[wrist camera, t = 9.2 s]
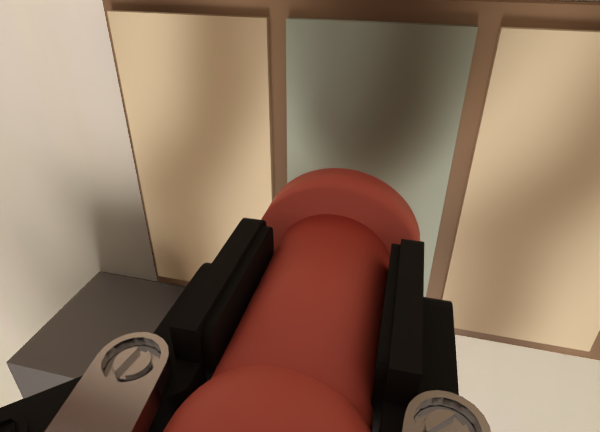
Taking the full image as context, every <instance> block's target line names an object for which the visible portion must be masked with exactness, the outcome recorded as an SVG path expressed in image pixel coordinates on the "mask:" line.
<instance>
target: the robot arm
mask: <svg viewBox="0 0 600 432" xmlns="http://www.w3.org/2000/svg"><path fill="white" fill-rule="evenodd" d="M273 254H274V240H273V228H272V227H269V226H267V224H266V221H265V220H259V219H251V218H243V219H242V220H241V221H240V222H239V224H238V225H237V227H236V228H235V230H234V231H233V233H232V234H231V236H230V237H229V239H228V240H227V241H226V243H225V244H224V246H223V247H222V249H221V250H220V252H219V253H218V255H217V256H216V258H215V259H214V261H213V262H212V263H207V262H206V263H204V264H202V266H201V267H200V268H199V269H198V271H197V272H196V273H195V275H194V276H193V278H192V279H191V280H190V282H189V283H188V285H187V286H186V288H185V289H184V290H183V292H182V293H181V295H180V296H179V297H178V299H177V300H176V302H175V303H174V304H173V306H172V307H171V309H170V310H169V311H168V313H167V314H166V316H165V317H164V319H163V320H162V321H161V323H160V324H159V326H158V327H157V328H156V330H155V331H154V333H149V332H135V333H130V334H126V335H123V336H121V337H119V338H116V339H114V340H113V341H111V342H110V343H108V344H107V345H106V346H104V348H103V349H102V350H101V351H100V352H99V353H98V354H97V356H96V357H95V359H94V360H93V362H92V363H91V364H90V366H89V367H88V369H87V370H86V372H85V373H84V375H83V376H80V377H78V378H75V379H72V380H70V381H67V382H65V383H62V384H60V385H57V386H55V387H52V388H50V389H47V390H45V391H42V392H39V393H37V394H34V395H32V396H29V397H27V398H24V399H22V400H19V401H17V402H14V403H11V404H9V405H6V406H4V407H1V408H0V432H163V430H164V429H165V427H166V425H167V424H168V422H169V421H170V419H171V418H172V416H173V414H174V413H175V412H176V410H177V409H178V408H179V407H180V406H181V404H182V403H183V402H184V401H185V400H186V399H187V398H188V397H189V396H190V395H191V394H192V393H193V392H194V391H195V390H196V389H198V388H199V387H200V386H201V385H203V384H204V383H206V382H207V381H209V380H210V379H211V378H212V376H213V374H214V372H215V370H216V368H217V366H218V364H219V362H220V360H221V358H222V356H223V354H224V352H225V350H226V348H227V346H228V344H229V342H230V340H231V338H232V336H233V334H234V332H235V330H236V328H237V326H238V324H239V322H240V320H241V318H242V316H243V314H244V312H245V310H246V308H247V306H248V304H249V302H250V300H251V298H252V296H253V294H254V292H255V290H256V288H257V286H258V284H259V282H260V280H261V278H262V276H263V274H264V272H265V270H266V268H267V266H268V264H269V262H270V260H271V258H272V256H273ZM371 405H372V408H373V414H374V418H373V429H372V432H491V430H490V426H489V424H488V422H487V420H486V419H485V417H484V415H483V414H482V413H481V412H480V411H479V409H478V408H477V407H476V406H475V405H474V404H472V403H471V402H469V401H468V400H466V399H465V398H463V397H462V396H459V393H458V377H457V362H456V346H455V331H454V315H453V304H452V301H447V300H441V299H434V298H428V297H424V242H422V241H415V240H407V239H401V243H400V244H393V243H392V244H391V252H390V259H389V267H388V274H387V282H386V290H385V298H384V306H383V314H382V321H381V329H380V337H379V345H378V353H377V361H376V368H375V376H374V384H373V392H372V400H371Z"/></svg>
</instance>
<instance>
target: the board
mask: <svg viewBox="0 0 600 432" xmlns="http://www.w3.org/2000/svg"><path fill="white" fill-rule="evenodd" d="M102 1H103V6H104V11H105V16H106V21H107V26H108V31H109V36H110V41H111V46H112V51H113V56H114V62H115V67H116V72H117V77H118V82H119V87H120V92H121V97H122V102H123V107H124V112H125V117H126V122H127V128H128V133H129V138H130V143H131V148H132V153H133V158H134V163H135V168H136V173H137V178H138V183H139V189H140V194H141V199H142V204H143V209H144V214H145V219H146V224H147V229H148V234H149V239H150V244H151V249H152V255H153V260H154V265H155V270H156V275H157V280H158V281H159V282H165V283H170V284H176V285H182V286H187V285H188V283H189V282H190V280H191V279H192V278H193V276H194V275H195V273H196V272H197V271H198V269H199V268H200V267H201V266H202V264H204V263H206V262H207V263H212V262H213V261H214V259H215V258H216V256H217V255H218V253H219V252H220V250H221V249H222V247H223V246H224V244H225V243H226V241H227V240H228V239H229V237H230V236H231V234H232V233H233V231H234V230H235V228H236V227H237V225H238V224H239V222H240V221H241V220H242V219H243V218H251V219H259V220H261V219H262V217H263V216H264V214H265V212H266V211H267V209H268V207H269V206H270V204H271V203H272V201H273V199H274V198H275V196H276V195H277V194H278V192H279V191H280V190H281V189H282V188H283V187H284V186H285V185H286V184H287V183H289V182H290V181H292V180H293V179H294V178H296V177H298V176H300V175H302V174H305V173H308V172H311V171H314V170H319V169H325V168H346V169H352V170H357V171H360V172H364V173H367V174H369V175H371V176H374V177H376V178H378V179H380V180H382V181H383V182H385V183H387V184H388V185H389V186H391V187H392V188H393V189H395V190H396V191H397V192H398V193H399V194H400V195H401V196H402V197H403V198H404V200H405V201H406V202H407V203H408V205H409V206H410V208H411V210H412V211H413V213H414V215H415V218H416V220H417V223H418V226H419V231H420V241H422V242H424V297H428V298H434V299H441V300H447V301H452V304H453V315H454V331H455V334H456V335H461V336H467V337H473V338H478V339H484V340H489V341H495V342H501V343H506V344H512V345H517V346H523V347H529V348H534V349H540V350H545V351H551V352H557V353H562V354H568V355H573V356H579V357H585V358H590V359H596V360H600V2H594V1H560V0H102Z"/></svg>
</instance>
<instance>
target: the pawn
mask: <svg viewBox="0 0 600 432" xmlns="http://www.w3.org/2000/svg"><path fill="white" fill-rule="evenodd" d="M261 220H265V221H266V224H267V226H269V227H272V228H273V240H274V254H273V256H272V258H271V260H270V262H269V264H268V266H267V268H266V270H265V272H264V274H263V276H262V278H261V280H260V282H259V284H258V286H257V288H256V290H255V292H254V294H253V296H252V298H251V300H250V302H249V304H248V306H247V308H246V310H245V312H244V314H243V316H242V318H241V320H240V322H239V324H238V326H237V328H236V330H235V332H234V334H233V336H232V338H231V340H230V342H229V344H228V346H227V348H226V350H225V352H224V354H223V356H222V358H221V360H220V362H219V364H218V366H217V368H216V370H215V372H214V374H213V376H212V378H211V379H210V380H209V381H207V382H206V383H204V384H203V385H201V386H200V387H199V388H198V389H196V390H195V391H194V392H193V393H192V394H191V395H190V396H189V397H188V398H187V399H186V400H185V401H184V402H183V403H182V404H181V406H180V407H179V408H178V409H177V410H176V412H175V413H174V414H173V416H172V418H171V419H170V421H169V422H168V424H167V425H166V427H165V429H164V430H163V432H372V429H373V418H374V414H373V408H372V405H371V400H372V392H373V384H374V376H375V368H376V361H377V353H378V345H379V337H380V329H381V321H382V314H383V306H384V298H385V290H386V282H387V274H388V267H389V259H390V252H391V244H392V243H393V244H400V243H401V239H407V240H415V241H420V231H419V226H418V223H417V220H416V218H415V215H414V213H413V211H412V210H411V208H410V206H409V205H408V203H407V202H406V201H405V200H404V198H403V197H402V196H401V195H400V194H399V193H398V192H397V191H396V190H395V189H393V188H392V187H391V186H389V185H388V184H387V183H385V182H383V181H382V180H380V179H378V178H376V177H374V176H371V175H369V174H367V173H364V172H360V171H357V170H352V169H346V168H325V169H319V170H314V171H311V172H308V173H305V174H302V175H300V176H298V177H296V178H294V179H293V180H292V181H290V182H289V183H287V184H286V185H285V186H284V187H283V188H282V189H281V190H280V191H279V192H278V194H277V195H276V196H275V198H274V199H273V201H272V203H271V204H270V206H269V207H268V209H267V211H266V212H265V214H264V216H263V217H262V219H261Z"/></svg>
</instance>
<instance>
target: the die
mask: <svg viewBox="0 0 600 432" xmlns="http://www.w3.org/2000/svg"><path fill="white" fill-rule="evenodd" d="M185 288H186V287H181V286H176V285H170V284H165V283H159V282H153V281H148V280H142V279H137V278H131V277H126V276H120V275H114V274H109V273H103V272H99V273H98V274H97V275H96V276H95V277H94V278H93V279H92V280H91V281H90V282H88V283H87V284H86V285H85V286H84V287H83V288H82V289H81V290H80V291H79V292H78V293H77V294H76V295H75V296H74V297H73V298H72V299H71V300H70V301H69V302H68V303H67V304H66V305H65V306H64V307H63V308H62V309H61V310H60V311H59V312H58V313H57V314H56V315H55V316H54V317H53V318H52V319H50V320H49V321H48V322H47V323H46V324H45V325H44V326H43V327H42V328H41V329H40V330H39V331H38V332H37V333H36V334H35V335H34V336H33V337H32V338H31V339H30V340H29V341H28V342H27V343H26V344H25V345H24V346H23V347H22V348H21V349H20V350H19V351H18V352H17V353H16V354H15V355H14V356H12V357H11V358H10V359H9V360H8V361H7V365H8V367H9V369H10V371H11V373H12V375H13V377H14V380H15V382H16V384H17V386H18V388H19V390H20V392H21V394H22V397H23V399H24V398H27V397H29V396H32V395H34V394H37V393H39V392H42V391H45V390H47V389H50V388H52V387H55V386H57V385H60V384H62V383H65V382H67V381H70V380H72V379H75V378H78V377H80V376H83V375H84V373H85V372H86V370H87V369H88V367H89V366H90V364H91V363H92V362H93V360H94V359H95V357H96V356H97V354H98V353H99V352H100V351H101V350H102V349H103V348H104V346H106V345H107V344H108V343H110V342H111V341H113V340H114V339H116V338H119V337H121V336H123V335H126V334H130V333H135V332H149V333H154V331H155V330H156V328H157V327H158V326H159V324H160V323H161V321H162V320H163V319H164V317H165V316H166V314H167V313H168V311H169V310H170V309H171V307H172V306H173V304H174V303H175V302H176V300H177V299H178V297H179V296H180V295H181V293H182V292H183V290H184V289H185Z"/></svg>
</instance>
